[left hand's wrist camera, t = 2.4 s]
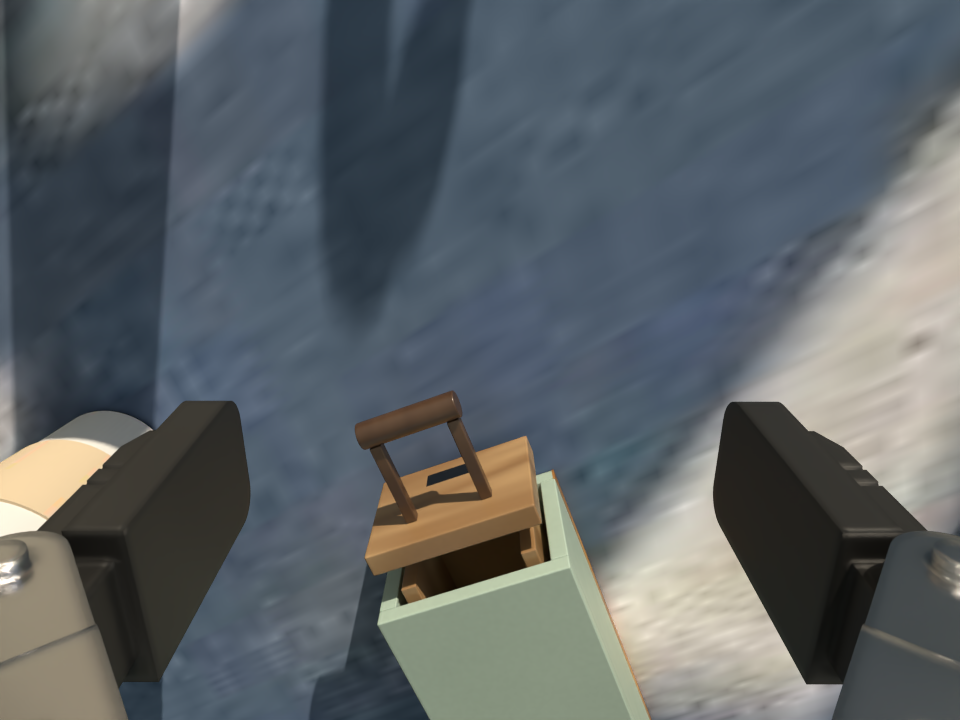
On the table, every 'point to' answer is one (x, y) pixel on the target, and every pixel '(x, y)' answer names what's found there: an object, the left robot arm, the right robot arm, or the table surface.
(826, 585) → the left robot arm
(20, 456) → the coffee cup
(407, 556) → the drawer
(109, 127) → the table surface
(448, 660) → the cabinet
